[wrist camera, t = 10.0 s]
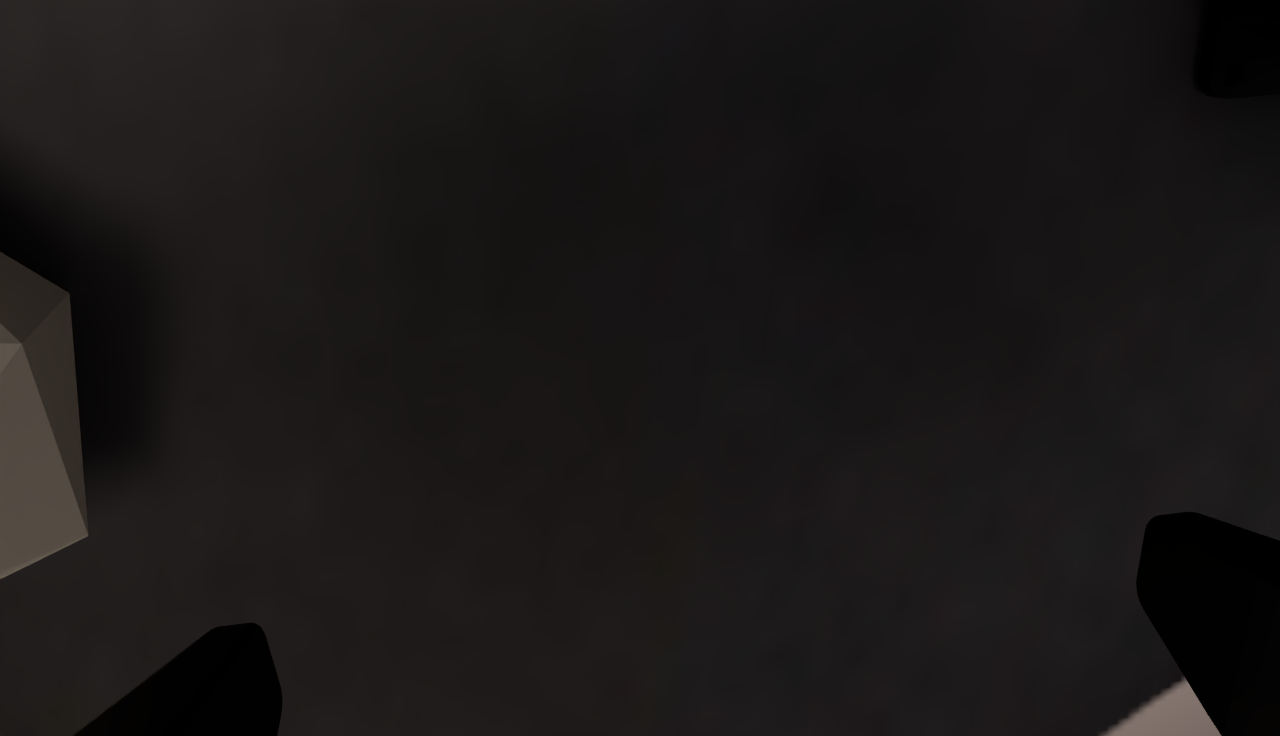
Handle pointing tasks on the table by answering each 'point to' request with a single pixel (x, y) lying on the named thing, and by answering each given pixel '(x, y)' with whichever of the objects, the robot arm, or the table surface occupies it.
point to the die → (37, 421)
